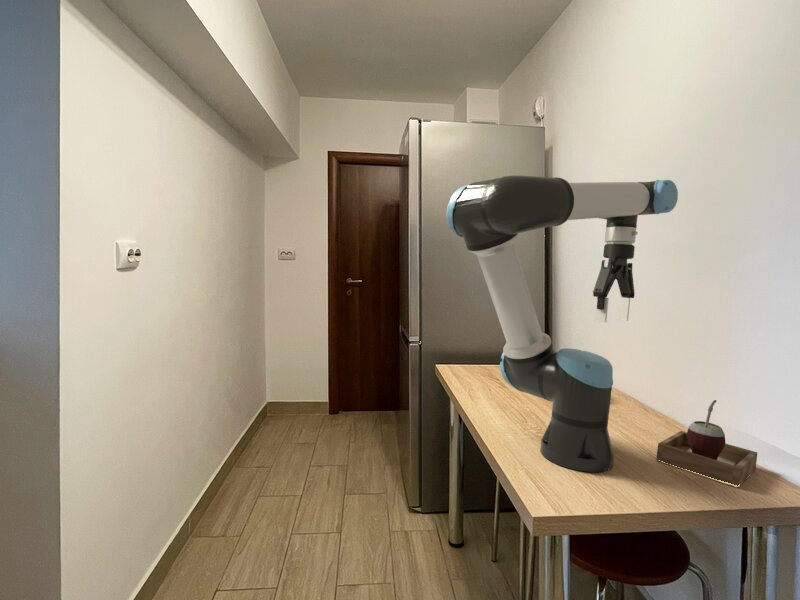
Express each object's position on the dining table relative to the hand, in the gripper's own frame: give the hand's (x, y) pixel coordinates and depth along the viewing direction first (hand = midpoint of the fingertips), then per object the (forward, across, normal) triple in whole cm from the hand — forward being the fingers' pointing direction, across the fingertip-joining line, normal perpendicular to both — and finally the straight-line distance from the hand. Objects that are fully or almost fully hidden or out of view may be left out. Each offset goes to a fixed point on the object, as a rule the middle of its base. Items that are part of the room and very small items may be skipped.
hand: (611, 321), depth 123 cm
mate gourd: (+28, -9, -27) cm, 40 cm away
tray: (+29, -8, -27) cm, 40 cm away
